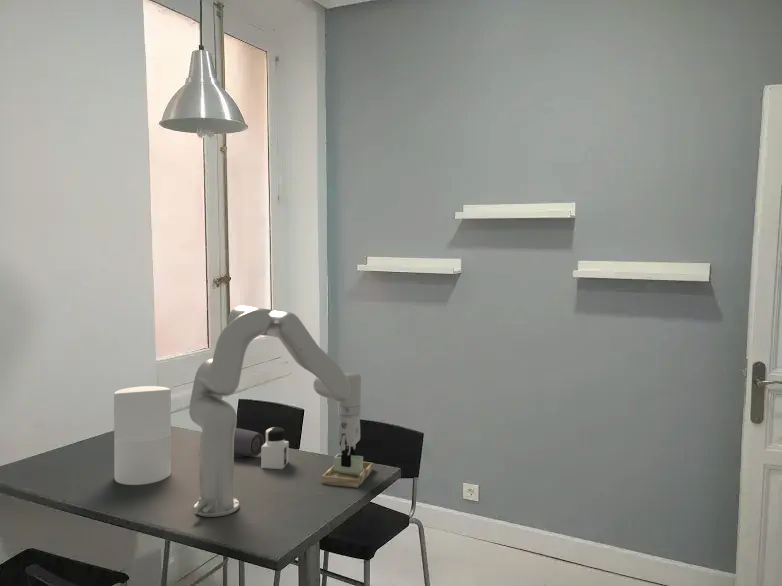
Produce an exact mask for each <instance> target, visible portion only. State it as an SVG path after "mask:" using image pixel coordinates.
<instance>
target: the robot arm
mask: <svg viewBox="0 0 782 586" xmlns="http://www.w3.org/2000/svg"><path fill="white" fill-rule="evenodd" d="M227 321H228V324H227V325H226V326H225V327H224V328H223V329H222V331H221V332H220V334H219V336H218V338H217V341H216V344H215V348H214V352H213V355H212V358H209V359H206V360H204V361H203V362H202V363H201V364H200V365H199V366H198V368H197V371H196V373H195V376H194V380H193V385H192V391H191V396H190V401H189V406H188V408H189V409H188V411H189V413H188V414H189V417H190V420H191V421H192V422H193V423H194V424H195V425H197V426H198V427H200V428H201V429H202V431H201V435H202V436H201V435H200V440H199V441H200V442H199V450H198V451H199V452H198V455H199V497H198V501H197V502H196V503H195V504H194V505H193V507H192V508H191V513H192V514H194V515H197V516H201V517H207V518H212V517H213V518H217V517H223V516H227V515H230V514H233V513H235V512H236V511H238V509H239V508H240V501H239V500H238V499H237V498H235V497H234V496H235V495H234V494H235V493H234V492H235V489H234V487H235V484H234V483H235V457H234V436H235V430H236V428H237V421H238V416H237V411H236V410H235V408H234V407H233V405H231V404H230V403H229V402H228V401H226V400H224V399H223V396H226V397H227V396H230V395H232V394H234V393H235V392H236V391H237V389H238V387H239V385H240V380H241V375H242V370H243V366H244V365H243V364H244V360H245V355H246V351H247V349H248V347H249V345H250V344H251V343H252V341H253V340H254V339H256V338H257V337H259V336H266V337H267V336H268V337H275V338H277V339H279V341H280V342H281V344H282V345H283V346H284V347H285V349H286V350H287V352H288V353H289V355H290V356H291V357H292V359H293V360H294V361H295V363H297V365H299V366H300V367H301V368H303V369H304V370H306V371H308V372H310V373H311V374H313V375H314V376H315V377H316V378H314V381H313V389H314V391H315V393H316V394H317V395H319V396H321V397H324V398H326V399H329V400H333V401H335V402H337V415H338V416H339V423H338V436H337V437H338V439H337V441H338V445H339V446H340V448H339V450H340V454H341V466H343V467H350V466H351V455H355V456H356V449H357V448H356V445H357V443H358V442H359V441H360V440H361V418H360V415H361V408H362V407H361V403H362V402H361V399H362V398H361V397H362V395H361V393H362V377H361V374H359V373H358V372H353V371H352V372H351V371H350V372H348V371H347V372H344V371H343V369H341V367H340V366H339V364H338V363H336V362H335V360H333V359H332V358H331V357H330V356H329V354H327V353H326V352H325V350H323V349H322V348H321V347H320V346H319V345H318V344H317V342H316V340H315V339H314V338H313V336H312V335H311V334H310V332H309V331H308V329H307V328H306V326H305V325H304V323H303V322H302V320H301V319H300V318H299V317H298V315H296V314H294V313H293V312H290V311H284V310H279V309H270V308H268V309H267V308H261V307H257V306H250V305H243V304H242V305H238V306H235V307H234V308H233V309H232V310H231V311H230V312H229V314H228V318H227Z"/></svg>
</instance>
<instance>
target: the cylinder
mask: <svg viewBox="0 0 782 586" xmlns="http://www.w3.org/2000/svg"><path fill="white" fill-rule="evenodd" d="M171 393H172V389H171V388H169V387H166V386H159V385H146V386H145V385H143V386H142V385H141V386H134V387H133V386H132V387H125V388H121V389H118V390H116V391H114V393H113V412H114V414H113V423H114V424H113V427H114V428H113V431H114V432H113V434H114V435H113V436H114V437H113V439H114V440H113V441H114V443H113V445H114V450H113V451H114V455H113V457H114V466H113V468H114V473H113V474H114V477H113V479H114V481H115V482H116V483H118V484H121V485H128V486H138V485H139V486H141V485H149V484H153V483H157V482H160V481H163V480H165V479H167V478H168V477H170V475H171V474H172V468H171V467H172V466H171V465H172V464H171V463H172V461H171V459H172V452H171V451H172V448H171V447H172V445H171V444H172V441H171V439H172V436H171V435H172V433H171V431H172V429H171V428H172V427H171V426H172V425H171V424H172V417H171V416H172V408H171V405H172V403H171V401H172V399H171V398H172V395H171Z"/></svg>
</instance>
